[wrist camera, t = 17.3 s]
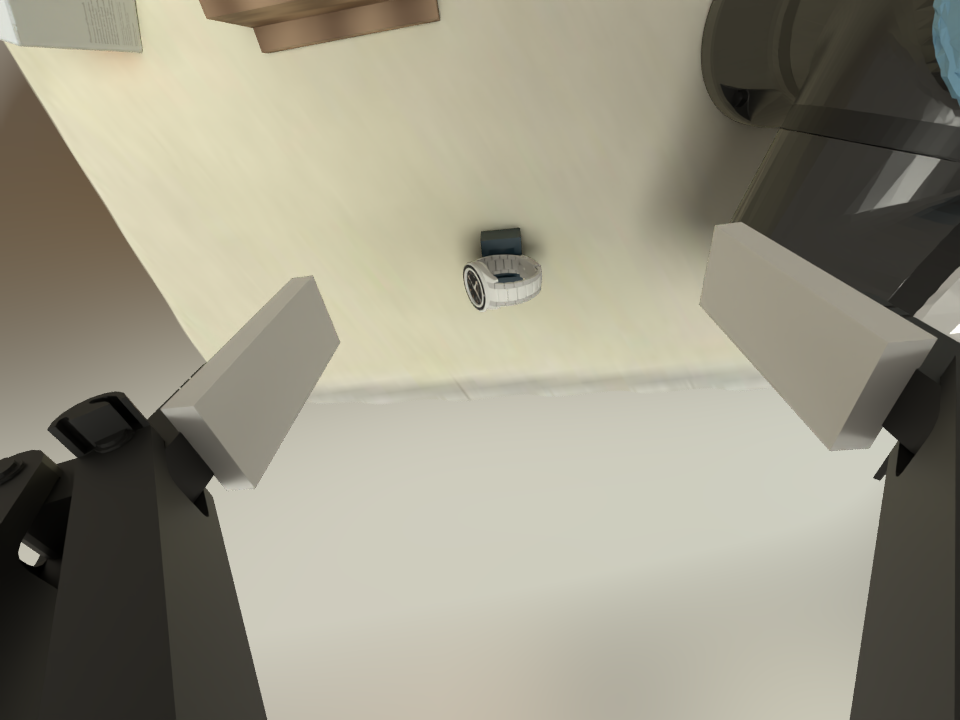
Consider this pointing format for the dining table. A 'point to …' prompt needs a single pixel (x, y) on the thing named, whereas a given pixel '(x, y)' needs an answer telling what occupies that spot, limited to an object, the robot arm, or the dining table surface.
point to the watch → (501, 272)
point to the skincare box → (71, 24)
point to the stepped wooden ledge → (318, 18)
